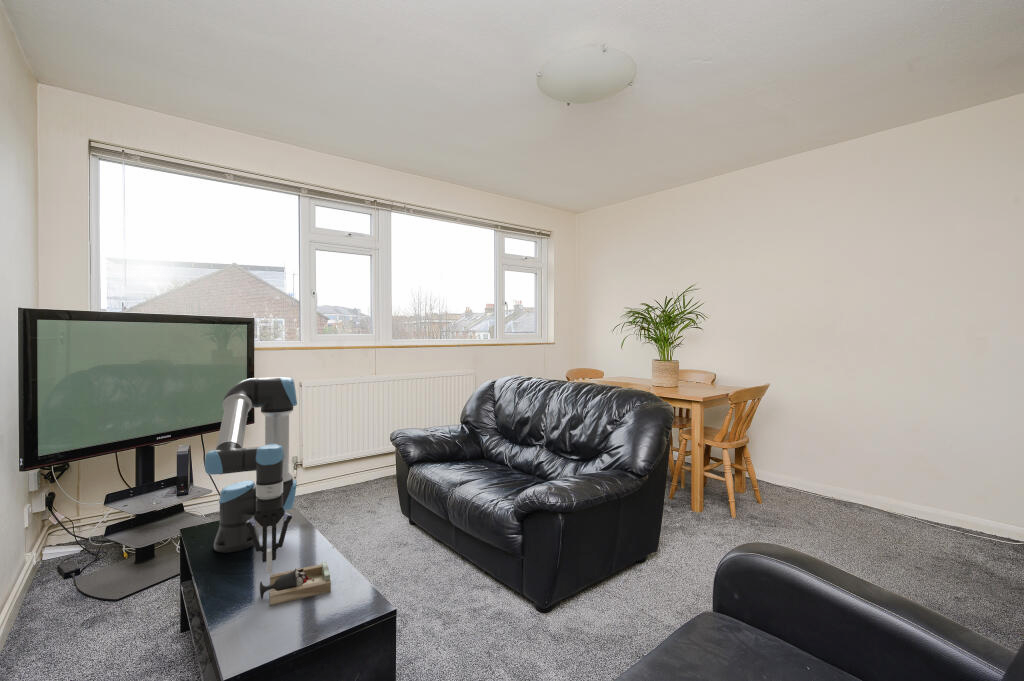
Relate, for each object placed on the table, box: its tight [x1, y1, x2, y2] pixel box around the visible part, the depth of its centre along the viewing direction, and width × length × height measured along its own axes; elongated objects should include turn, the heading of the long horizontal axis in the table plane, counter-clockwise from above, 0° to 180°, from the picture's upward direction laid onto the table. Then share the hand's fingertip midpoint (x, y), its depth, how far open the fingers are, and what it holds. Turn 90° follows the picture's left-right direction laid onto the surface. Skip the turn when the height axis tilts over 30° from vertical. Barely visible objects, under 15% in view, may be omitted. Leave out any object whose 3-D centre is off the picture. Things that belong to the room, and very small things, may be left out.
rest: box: [269, 561, 332, 607], centre depth 146 cm, size 14×17×4 cm
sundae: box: [259, 568, 314, 600], centre depth 143 cm, size 7×7×15 cm
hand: (269, 571), depth 142 cm, fingers closed
